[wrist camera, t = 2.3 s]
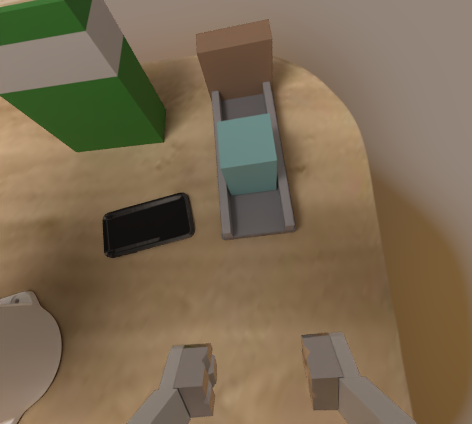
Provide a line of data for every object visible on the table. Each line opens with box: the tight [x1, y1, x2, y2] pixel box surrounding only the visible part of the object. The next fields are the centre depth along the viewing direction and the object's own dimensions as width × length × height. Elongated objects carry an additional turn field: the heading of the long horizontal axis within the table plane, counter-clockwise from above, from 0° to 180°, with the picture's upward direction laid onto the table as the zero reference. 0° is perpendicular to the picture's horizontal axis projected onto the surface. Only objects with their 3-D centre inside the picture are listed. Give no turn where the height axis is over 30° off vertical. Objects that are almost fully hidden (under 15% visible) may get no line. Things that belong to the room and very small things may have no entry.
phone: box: [103, 193, 194, 258], centre depth 42 cm, size 8×1×15 cm
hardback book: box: [0, 0, 166, 152], centre depth 38 cm, size 18×7×24 cm, turn 92°
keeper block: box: [217, 113, 277, 196], centre depth 37 cm, size 7×7×9 cm
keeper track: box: [196, 19, 296, 240], centre depth 39 cm, size 11×30×12 cm, turn 5°
